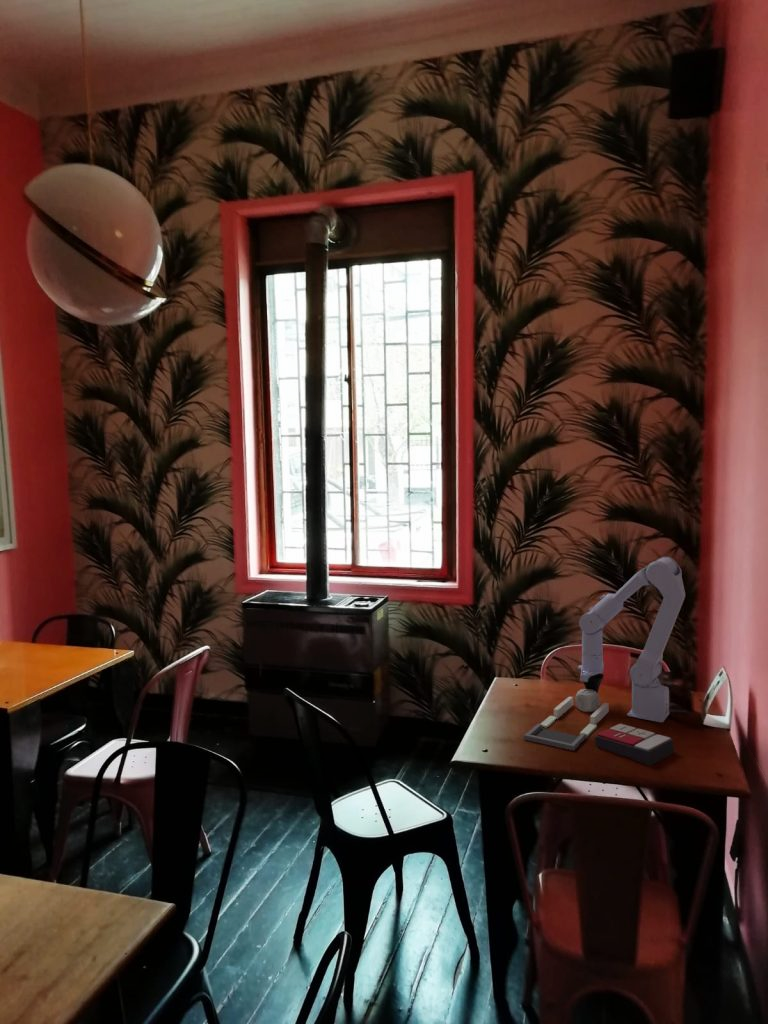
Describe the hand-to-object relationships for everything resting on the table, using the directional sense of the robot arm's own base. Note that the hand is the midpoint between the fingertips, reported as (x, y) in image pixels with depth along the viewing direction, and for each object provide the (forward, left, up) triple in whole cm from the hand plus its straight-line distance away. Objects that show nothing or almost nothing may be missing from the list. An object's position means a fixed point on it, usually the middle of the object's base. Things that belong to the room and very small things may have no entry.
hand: (592, 699), depth 205 cm
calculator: (-19, +25, -2) cm, 31 cm away
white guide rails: (0, +9, -2) cm, 9 cm away
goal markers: (0, +20, -2) cm, 20 cm away
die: (0, +4, -2) cm, 4 cm away
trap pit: (0, +28, -2) cm, 28 cm away
